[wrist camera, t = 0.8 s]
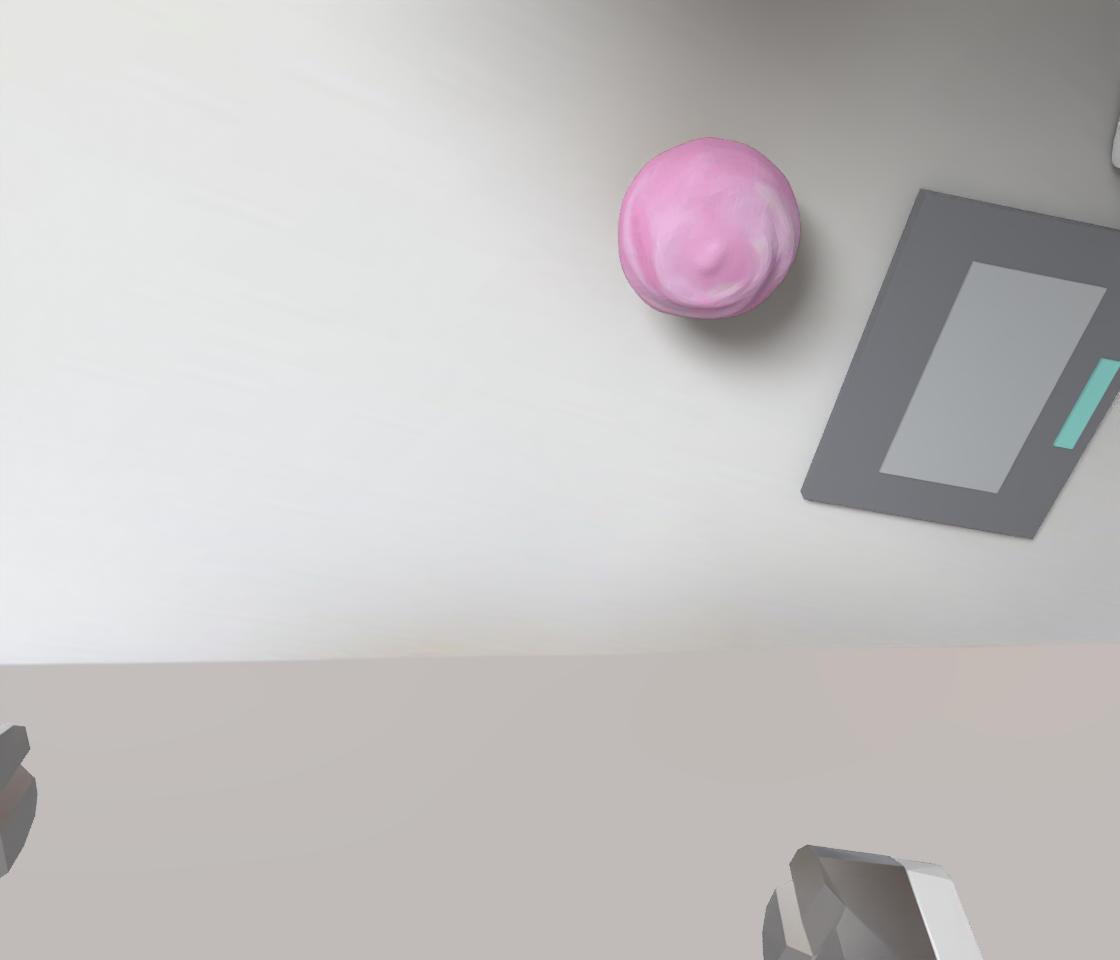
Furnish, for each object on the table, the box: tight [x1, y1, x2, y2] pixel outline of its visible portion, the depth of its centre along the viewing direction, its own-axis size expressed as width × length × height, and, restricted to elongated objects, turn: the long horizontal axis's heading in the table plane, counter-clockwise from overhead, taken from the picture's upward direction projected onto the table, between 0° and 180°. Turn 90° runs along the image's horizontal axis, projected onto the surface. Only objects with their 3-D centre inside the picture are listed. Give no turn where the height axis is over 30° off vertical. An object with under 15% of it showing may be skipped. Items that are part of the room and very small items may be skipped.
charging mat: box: [801, 189, 1120, 539], centre depth 54 cm, size 20×16×1 cm
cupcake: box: [618, 137, 801, 319], centre depth 45 cm, size 9×9×10 cm
